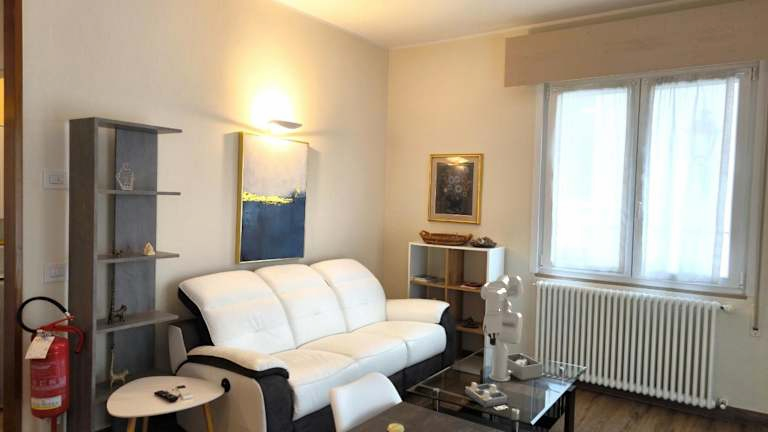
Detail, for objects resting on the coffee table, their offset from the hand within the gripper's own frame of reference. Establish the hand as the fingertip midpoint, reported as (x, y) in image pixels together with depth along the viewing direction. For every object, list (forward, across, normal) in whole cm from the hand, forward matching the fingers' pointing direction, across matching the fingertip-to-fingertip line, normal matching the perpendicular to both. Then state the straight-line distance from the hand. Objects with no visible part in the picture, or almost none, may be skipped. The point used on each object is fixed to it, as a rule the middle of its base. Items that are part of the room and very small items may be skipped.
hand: (492, 344), depth 298 cm
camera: (+29, -36, -20) cm, 50 cm away
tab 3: (+26, +2, +4) cm, 27 cm away
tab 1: (+26, +10, -2) cm, 28 cm away
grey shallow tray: (+28, +6, +4) cm, 29 cm away
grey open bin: (+29, -36, -20) cm, 50 cm away
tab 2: (+26, +10, +10) cm, 30 cm away
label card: (+28, +6, +18) cm, 34 cm away
